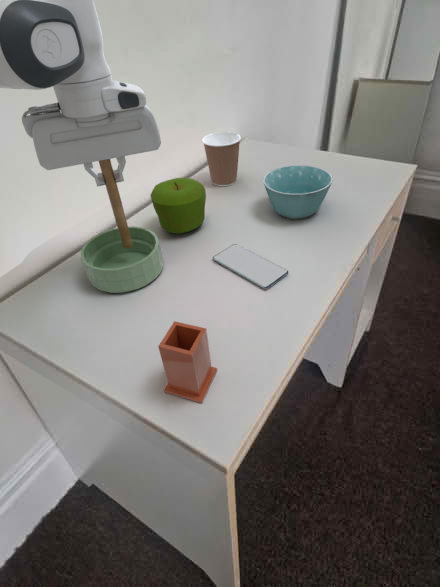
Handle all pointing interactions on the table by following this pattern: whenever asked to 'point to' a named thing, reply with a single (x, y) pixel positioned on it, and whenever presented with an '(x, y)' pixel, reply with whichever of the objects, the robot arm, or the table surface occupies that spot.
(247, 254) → the smartphone
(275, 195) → the bowl
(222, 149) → the coffee cup
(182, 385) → the utensil holder
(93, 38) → the robot arm
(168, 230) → the apple
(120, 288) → the green round dish
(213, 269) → the table surface
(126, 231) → the stirring stick
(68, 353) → the table surface
